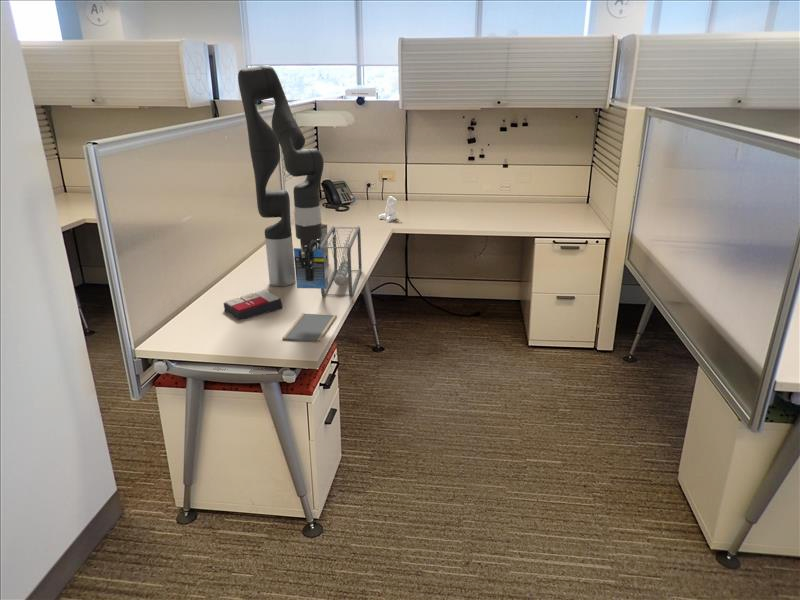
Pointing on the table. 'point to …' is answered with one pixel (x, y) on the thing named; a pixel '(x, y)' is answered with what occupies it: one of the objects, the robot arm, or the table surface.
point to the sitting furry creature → (389, 210)
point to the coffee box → (324, 233)
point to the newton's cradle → (345, 265)
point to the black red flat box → (252, 305)
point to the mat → (309, 328)
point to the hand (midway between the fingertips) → (312, 277)
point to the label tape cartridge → (318, 271)
